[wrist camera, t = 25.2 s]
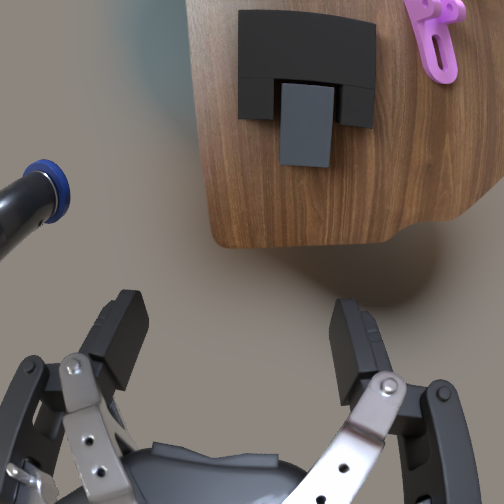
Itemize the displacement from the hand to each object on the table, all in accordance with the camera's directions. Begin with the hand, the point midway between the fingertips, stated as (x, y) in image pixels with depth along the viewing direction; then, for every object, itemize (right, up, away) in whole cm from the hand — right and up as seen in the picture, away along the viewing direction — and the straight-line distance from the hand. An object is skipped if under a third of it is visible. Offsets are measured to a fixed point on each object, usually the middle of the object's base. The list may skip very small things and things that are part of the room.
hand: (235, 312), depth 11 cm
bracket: (+25, +31, +13) cm, 42 cm away
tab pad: (+7, +18, +21) cm, 29 cm away
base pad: (+7, +25, +17) cm, 31 cm away
